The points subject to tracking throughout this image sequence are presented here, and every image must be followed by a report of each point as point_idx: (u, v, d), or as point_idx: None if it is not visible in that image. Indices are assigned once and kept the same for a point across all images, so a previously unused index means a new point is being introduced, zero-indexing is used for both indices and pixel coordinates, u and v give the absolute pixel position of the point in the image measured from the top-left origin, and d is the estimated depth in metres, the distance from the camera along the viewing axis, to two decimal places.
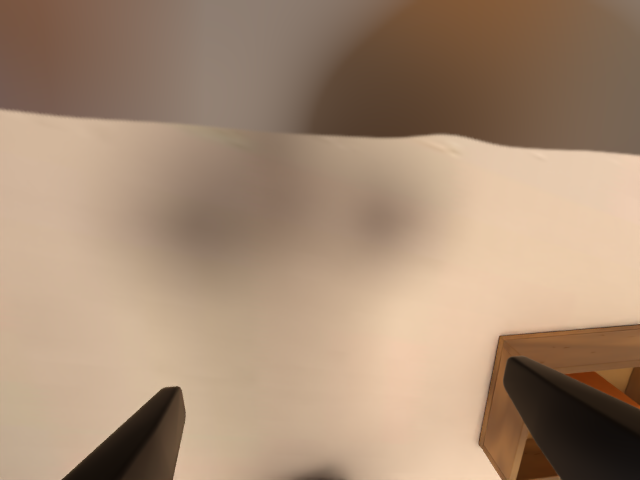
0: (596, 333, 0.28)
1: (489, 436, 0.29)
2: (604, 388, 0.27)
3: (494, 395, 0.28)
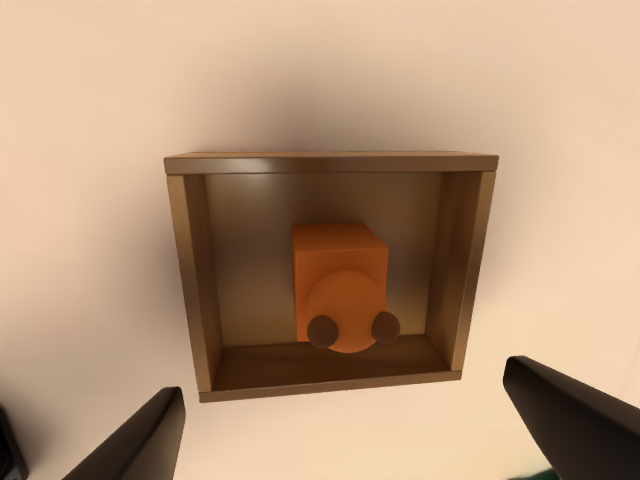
0: None
1: None
2: (354, 234, 0.16)
3: None
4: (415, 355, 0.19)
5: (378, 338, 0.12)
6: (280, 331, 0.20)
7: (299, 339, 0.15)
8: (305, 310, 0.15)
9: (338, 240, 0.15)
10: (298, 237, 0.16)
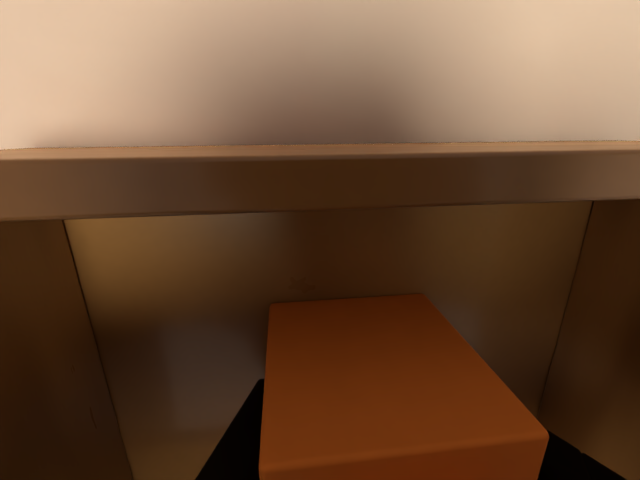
0: None
1: None
2: (418, 347, 0.06)
3: None
4: None
5: None
6: None
7: None
8: None
9: (387, 382, 0.06)
10: (281, 362, 0.06)
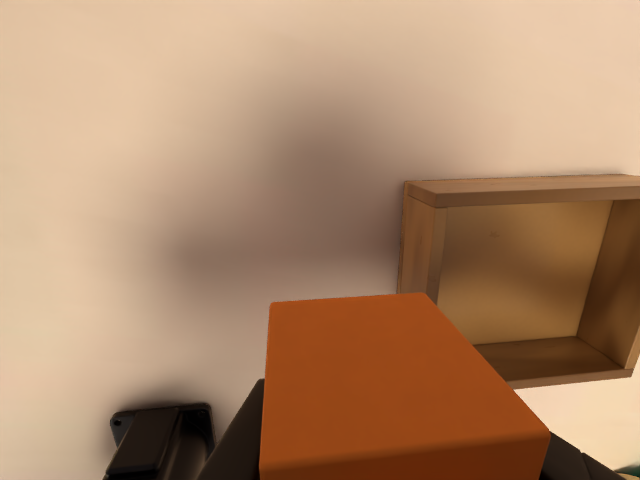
0: (545, 178, 0.19)
1: None
2: (419, 346, 0.06)
3: (402, 273, 0.20)
4: (582, 355, 0.21)
5: None
6: None
7: None
8: None
9: (388, 381, 0.06)
10: (281, 361, 0.06)
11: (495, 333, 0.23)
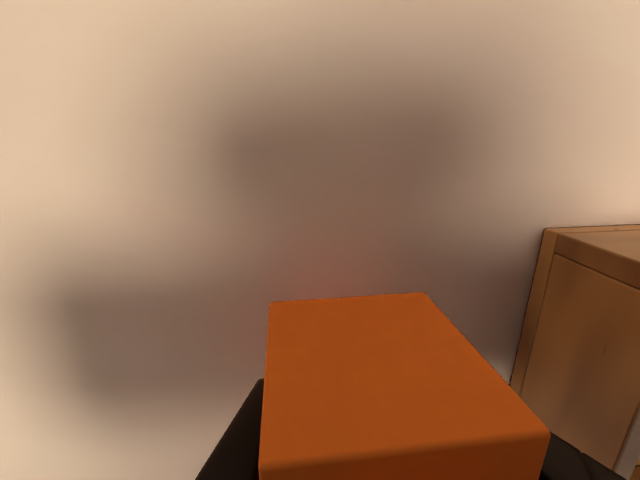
0: None
1: None
2: (419, 346, 0.06)
3: (527, 376, 0.12)
4: None
5: None
6: None
7: None
8: None
9: (388, 381, 0.06)
10: (280, 361, 0.06)
11: None
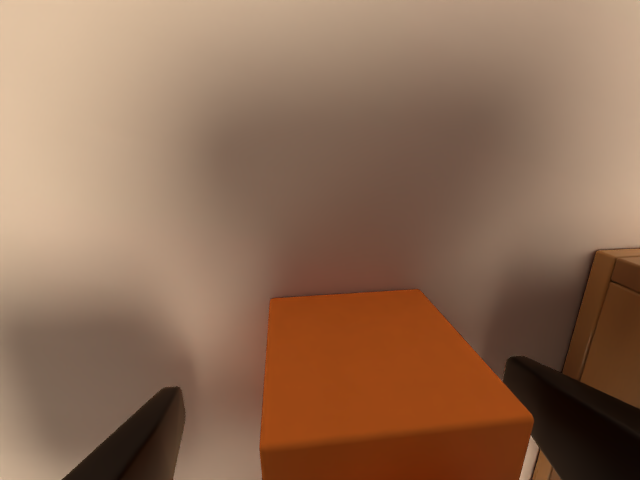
0: None
1: None
2: (413, 339, 0.07)
3: None
4: None
5: None
6: None
7: None
8: None
9: (382, 371, 0.06)
10: (281, 353, 0.06)
11: None
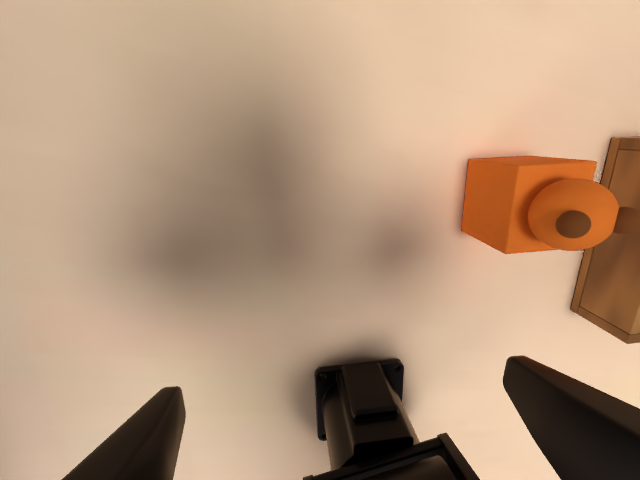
0: None
1: (591, 289, 0.22)
2: (543, 159, 0.18)
3: None
4: None
5: (625, 227, 0.13)
6: None
7: (507, 251, 0.17)
8: (517, 223, 0.16)
9: (540, 161, 0.17)
10: (498, 161, 0.17)
11: None
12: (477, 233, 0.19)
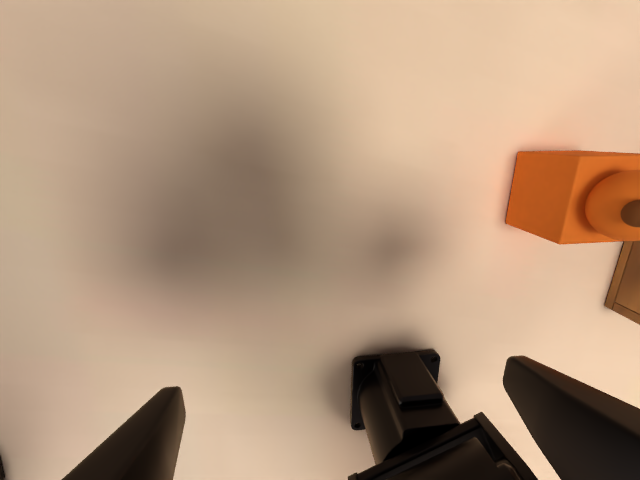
0: None
1: (628, 285, 0.22)
2: (596, 153, 0.18)
3: None
4: None
5: None
6: None
7: (562, 242, 0.17)
8: (574, 213, 0.16)
9: (596, 153, 0.17)
10: (553, 153, 0.17)
11: None
12: (525, 225, 0.19)
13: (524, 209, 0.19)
